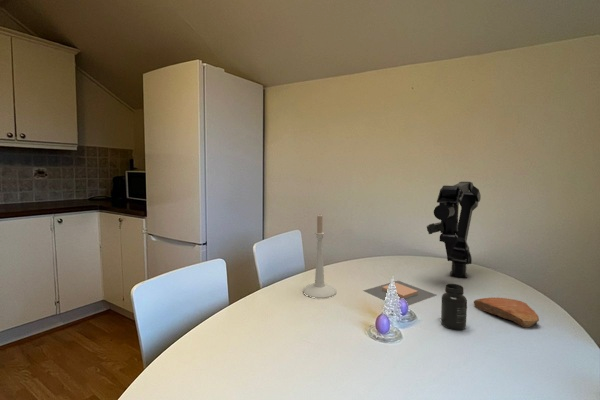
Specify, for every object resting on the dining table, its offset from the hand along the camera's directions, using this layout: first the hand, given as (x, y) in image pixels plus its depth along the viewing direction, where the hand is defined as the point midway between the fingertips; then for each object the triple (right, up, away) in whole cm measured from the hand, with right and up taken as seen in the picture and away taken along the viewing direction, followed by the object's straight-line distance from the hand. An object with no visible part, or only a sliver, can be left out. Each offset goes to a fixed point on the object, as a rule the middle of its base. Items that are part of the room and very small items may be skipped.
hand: (448, 255), depth 126 cm
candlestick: (-52, -13, -6) cm, 54 cm away
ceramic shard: (+6, -15, -27) cm, 31 cm away
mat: (-23, -13, -9) cm, 28 cm away
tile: (-19, -12, -7) cm, 23 cm away
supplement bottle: (-14, -15, -32) cm, 38 cm away
